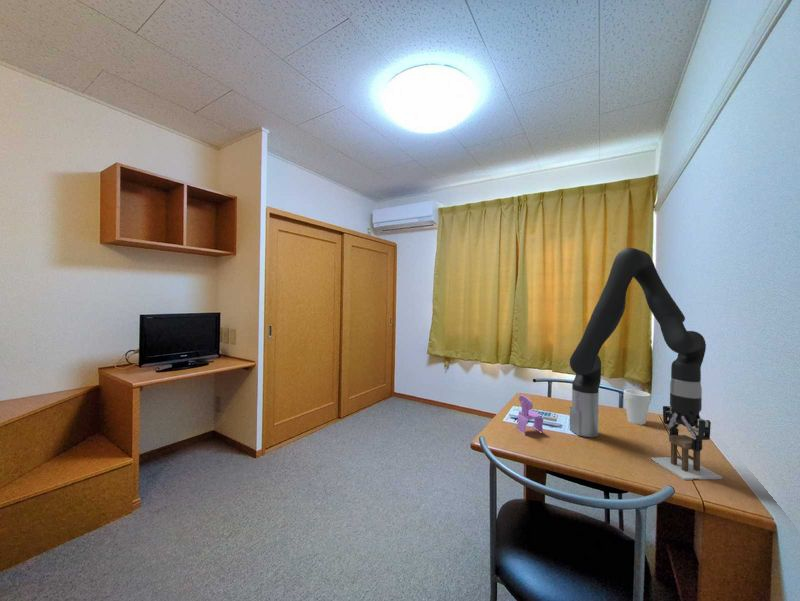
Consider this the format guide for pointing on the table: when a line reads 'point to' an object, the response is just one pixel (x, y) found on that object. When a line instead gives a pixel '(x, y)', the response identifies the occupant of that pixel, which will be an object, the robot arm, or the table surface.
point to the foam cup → (637, 405)
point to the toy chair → (528, 415)
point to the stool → (684, 451)
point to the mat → (688, 474)
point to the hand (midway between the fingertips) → (684, 445)
